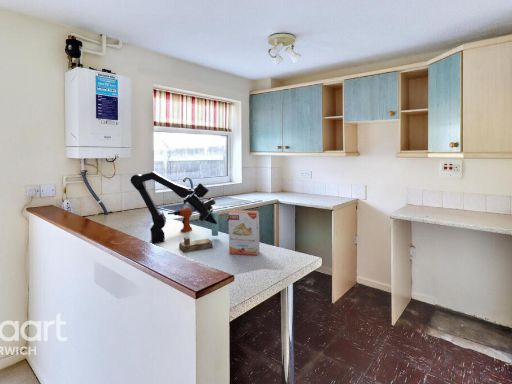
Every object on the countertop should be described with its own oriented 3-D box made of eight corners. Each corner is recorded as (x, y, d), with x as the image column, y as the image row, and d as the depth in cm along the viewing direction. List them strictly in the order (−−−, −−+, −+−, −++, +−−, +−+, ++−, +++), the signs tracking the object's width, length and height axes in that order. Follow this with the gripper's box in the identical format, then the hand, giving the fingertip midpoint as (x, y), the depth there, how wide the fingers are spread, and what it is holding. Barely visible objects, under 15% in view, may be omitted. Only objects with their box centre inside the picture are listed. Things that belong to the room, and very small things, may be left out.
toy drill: (164, 233, 190) (165, 208, 190) (188, 230, 206) (189, 207, 205) (169, 234, 187) (170, 209, 187) (193, 231, 203) (194, 207, 202)
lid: (183, 247, 160) (183, 240, 160) (180, 243, 167) (179, 236, 166) (212, 242, 167) (212, 236, 167) (208, 239, 174) (208, 232, 173)
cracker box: (228, 254, 156) (227, 211, 153) (232, 250, 162) (231, 209, 159) (257, 256, 153) (256, 212, 150) (259, 252, 159) (259, 210, 156)
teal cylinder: (214, 236, 181) (213, 213, 179) (210, 235, 183) (209, 212, 181) (219, 235, 183) (218, 212, 181) (215, 233, 186) (215, 211, 184)
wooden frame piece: (183, 252, 160) (183, 247, 160) (179, 247, 168) (179, 243, 168) (212, 247, 167) (212, 243, 166) (207, 243, 174) (206, 239, 174)
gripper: (204, 196, 170) (225, 216, 172) (208, 191, 189) (227, 209, 191) (190, 211, 171) (211, 230, 173) (195, 204, 190) (214, 222, 192)
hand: (217, 222), depth 182 cm, fingers closed on teal cylinder, 4 cm apart
